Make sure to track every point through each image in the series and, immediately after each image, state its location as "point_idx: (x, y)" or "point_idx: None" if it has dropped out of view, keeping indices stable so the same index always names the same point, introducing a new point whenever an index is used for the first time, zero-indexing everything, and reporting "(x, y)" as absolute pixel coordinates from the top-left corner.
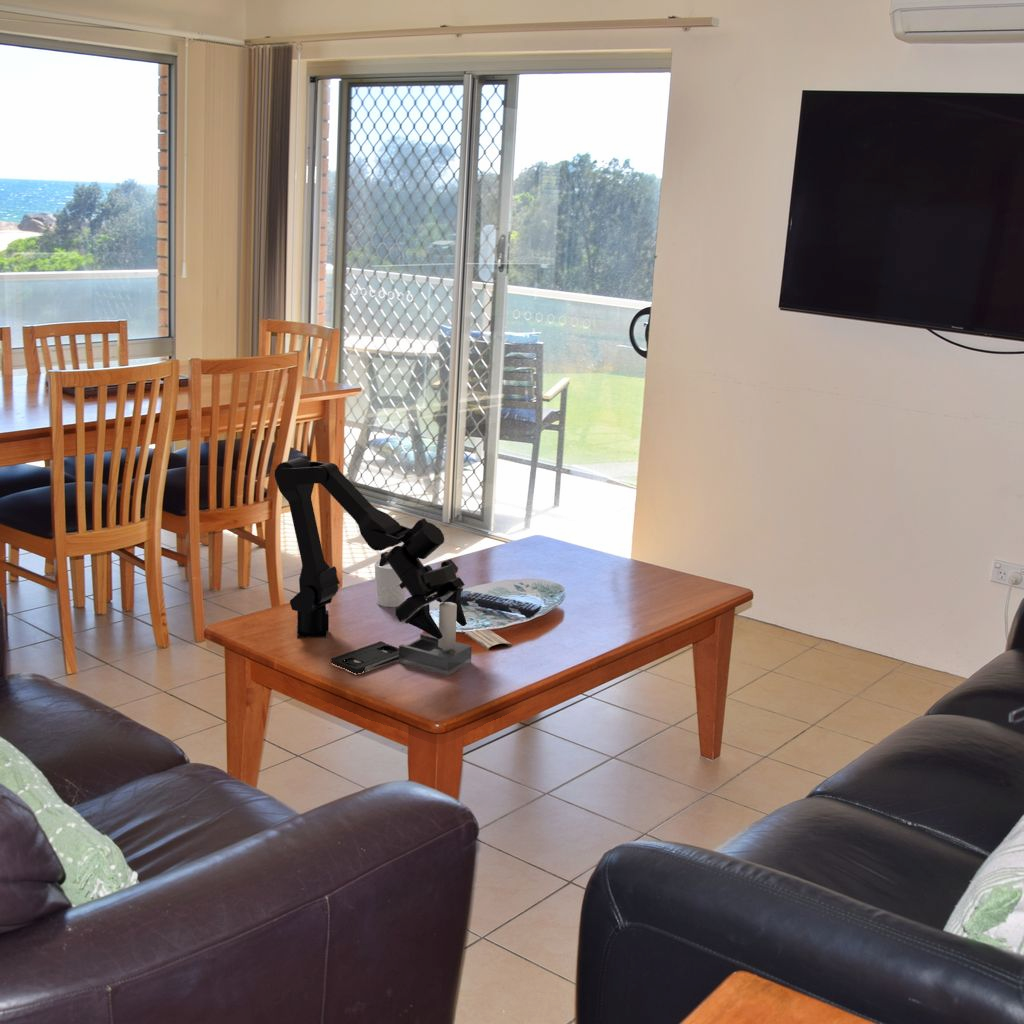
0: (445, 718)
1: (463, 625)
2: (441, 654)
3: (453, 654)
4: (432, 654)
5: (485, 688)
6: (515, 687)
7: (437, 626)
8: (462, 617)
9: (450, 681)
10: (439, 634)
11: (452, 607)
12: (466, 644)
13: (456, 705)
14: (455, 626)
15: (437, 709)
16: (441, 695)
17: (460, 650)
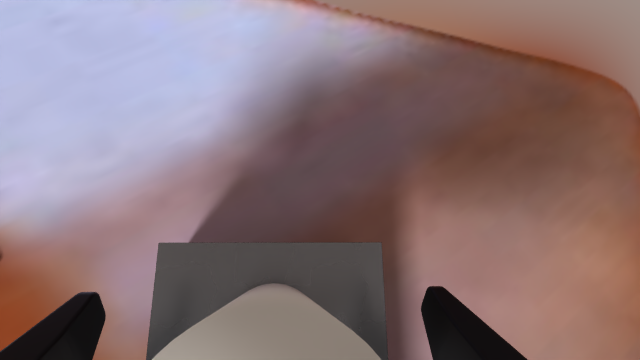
0: (604, 84)
1: (102, 313)
2: (357, 304)
3: (320, 253)
4: (386, 344)
5: (366, 87)
6: (301, 16)
7: (477, 348)
8: (60, 338)
9: (393, 212)
10: (458, 302)
11: (324, 324)
12: (156, 276)
13: (523, 100)
14: (259, 289)
15: (581, 131)
16: (502, 174)
17: (252, 254)
